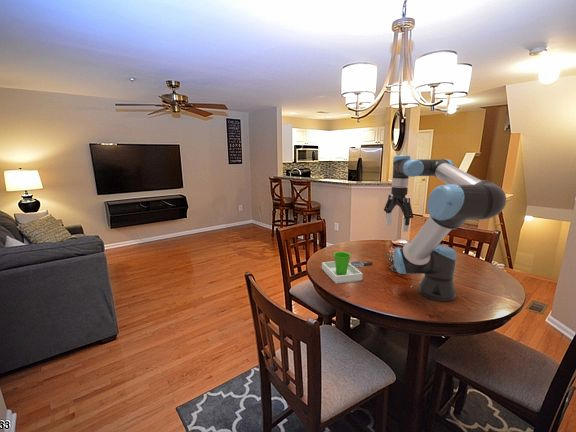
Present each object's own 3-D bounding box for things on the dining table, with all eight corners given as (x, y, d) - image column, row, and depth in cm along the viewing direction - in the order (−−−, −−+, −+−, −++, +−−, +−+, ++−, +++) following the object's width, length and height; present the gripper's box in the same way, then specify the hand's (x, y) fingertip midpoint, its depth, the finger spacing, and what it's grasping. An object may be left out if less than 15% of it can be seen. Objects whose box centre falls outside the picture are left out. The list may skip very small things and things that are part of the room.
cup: (345, 278, 147) (346, 258, 145) (329, 274, 152) (330, 254, 150) (352, 273, 154) (353, 253, 152) (337, 269, 159) (338, 250, 157)
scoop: (369, 263, 170) (369, 259, 170) (373, 266, 166) (374, 262, 165) (350, 265, 167) (350, 261, 167) (354, 268, 162) (354, 264, 162)
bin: (362, 280, 146) (362, 273, 145) (335, 284, 142) (336, 276, 142) (345, 266, 165) (345, 260, 164) (321, 269, 161) (321, 262, 160)
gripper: (424, 189, 130) (419, 233, 135) (390, 184, 154) (388, 222, 158) (410, 189, 128) (406, 235, 133) (378, 184, 152) (376, 223, 156)
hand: (396, 228), depth 146 cm, fingers open, 13 cm apart
